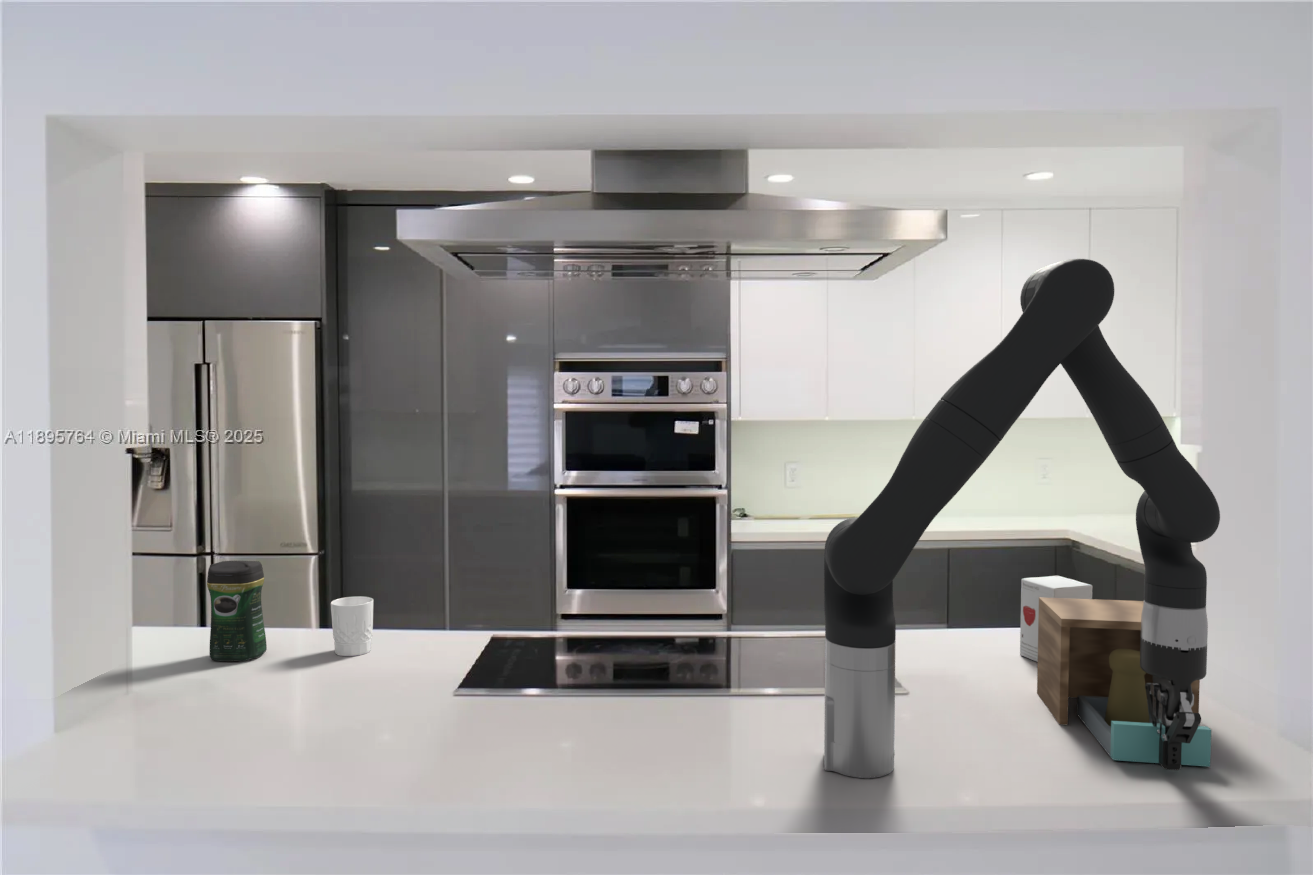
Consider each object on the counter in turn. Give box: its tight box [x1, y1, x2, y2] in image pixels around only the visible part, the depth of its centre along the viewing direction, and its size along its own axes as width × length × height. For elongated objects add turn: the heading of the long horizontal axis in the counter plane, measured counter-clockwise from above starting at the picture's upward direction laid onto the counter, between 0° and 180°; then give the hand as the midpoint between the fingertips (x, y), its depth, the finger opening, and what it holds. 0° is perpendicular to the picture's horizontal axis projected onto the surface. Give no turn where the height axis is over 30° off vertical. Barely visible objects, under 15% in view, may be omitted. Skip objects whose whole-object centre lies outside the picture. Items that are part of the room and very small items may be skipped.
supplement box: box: [1019, 575, 1094, 663], centre depth 165 cm, size 9×9×15 cm
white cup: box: [330, 595, 374, 657], centre depth 172 cm, size 8×8×10 cm
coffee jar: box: [206, 560, 267, 662], centre depth 168 cm, size 10×8×19 cm
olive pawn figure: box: [1105, 649, 1150, 726], centre depth 129 cm, size 6×6×11 cm
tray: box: [1076, 695, 1212, 767], centre depth 127 cm, size 12×17×5 cm
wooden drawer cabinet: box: [1036, 597, 1201, 726], centre depth 138 cm, size 19×14×16 cm
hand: (1169, 767), depth 116 cm, fingers closed
